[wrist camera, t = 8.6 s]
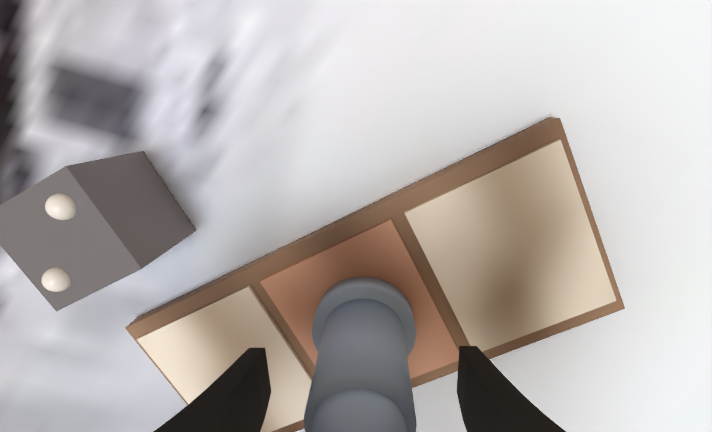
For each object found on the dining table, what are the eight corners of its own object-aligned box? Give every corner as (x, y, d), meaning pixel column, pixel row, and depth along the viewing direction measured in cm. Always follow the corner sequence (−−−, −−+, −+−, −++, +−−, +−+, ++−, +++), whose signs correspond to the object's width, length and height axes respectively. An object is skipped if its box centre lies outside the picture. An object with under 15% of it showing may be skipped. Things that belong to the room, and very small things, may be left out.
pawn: (414, 275, 15) (447, 412, 8) (412, 361, 16) (440, 539, 9) (312, 276, 15) (264, 409, 8) (318, 360, 16) (281, 533, 10)
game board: (234, 442, 20) (227, 459, 19) (136, 318, 17) (122, 330, 16) (612, 298, 16) (628, 310, 15) (549, 117, 14) (562, 118, 13)
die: (144, 151, 15) (53, 168, 11) (196, 229, 16) (133, 274, 12) (74, 191, 16) (-37, 222, 11) (129, 264, 17) (45, 318, 12)
